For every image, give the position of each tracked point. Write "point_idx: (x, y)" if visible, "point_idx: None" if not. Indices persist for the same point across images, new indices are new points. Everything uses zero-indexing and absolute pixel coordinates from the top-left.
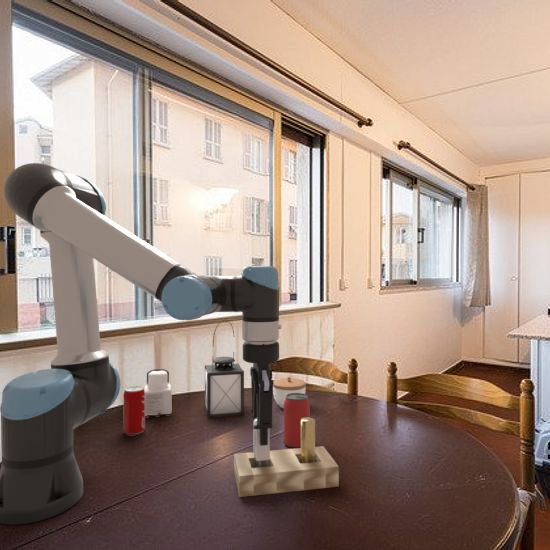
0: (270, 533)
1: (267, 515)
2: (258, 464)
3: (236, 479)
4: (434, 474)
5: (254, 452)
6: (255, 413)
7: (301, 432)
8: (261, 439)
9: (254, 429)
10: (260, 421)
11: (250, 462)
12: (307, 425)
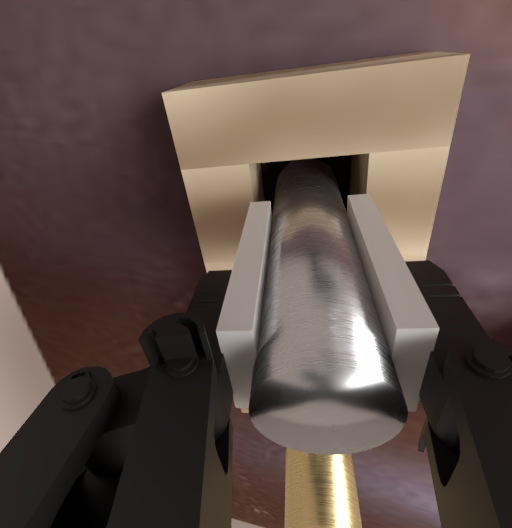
0: (6, 182)
1: (90, 182)
2: (276, 201)
3: (302, 68)
4: (278, 483)
5: (303, 205)
6: (460, 425)
7: (311, 453)
8: (194, 302)
9: (309, 295)
10: (5, 458)
11: (365, 157)
12: (286, 511)
